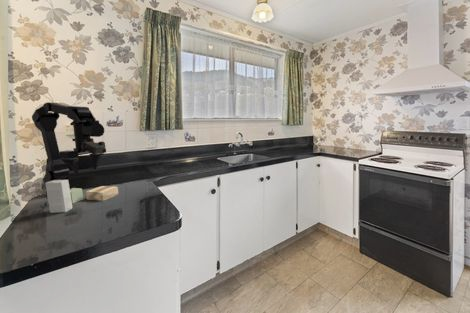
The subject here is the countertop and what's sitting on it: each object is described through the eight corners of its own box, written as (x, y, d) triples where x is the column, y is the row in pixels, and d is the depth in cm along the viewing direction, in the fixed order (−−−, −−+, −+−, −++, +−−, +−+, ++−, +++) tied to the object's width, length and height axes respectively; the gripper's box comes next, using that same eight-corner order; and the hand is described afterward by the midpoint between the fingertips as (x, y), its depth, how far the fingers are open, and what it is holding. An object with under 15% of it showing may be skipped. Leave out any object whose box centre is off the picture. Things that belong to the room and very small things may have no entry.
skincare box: (73, 208, 91) (68, 179, 89) (65, 212, 87) (61, 182, 85) (57, 208, 91) (53, 179, 89) (49, 213, 87) (44, 182, 85)
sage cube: (64, 202, 99) (62, 191, 98) (74, 198, 104) (73, 188, 103) (72, 203, 98) (71, 191, 97) (83, 199, 102) (82, 188, 102)
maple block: (86, 200, 102) (85, 191, 101) (103, 193, 110) (102, 185, 110) (103, 201, 99) (102, 192, 99) (118, 194, 108) (117, 186, 107)
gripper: (77, 138, 87) (82, 177, 89) (114, 135, 105) (117, 168, 107) (55, 137, 90) (60, 176, 92) (94, 134, 107) (97, 166, 110)
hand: (86, 171), depth 100 cm, fingers open, 9 cm apart
